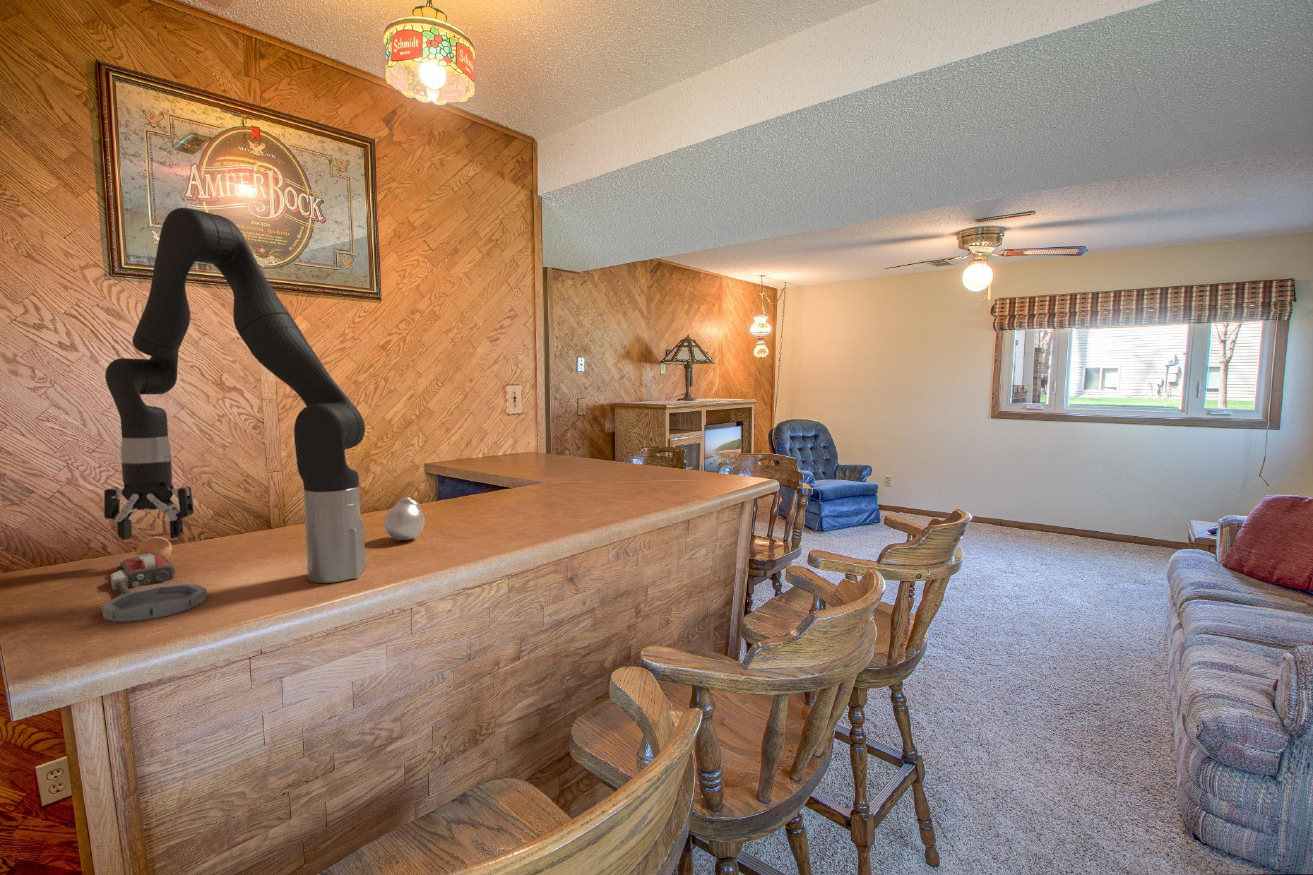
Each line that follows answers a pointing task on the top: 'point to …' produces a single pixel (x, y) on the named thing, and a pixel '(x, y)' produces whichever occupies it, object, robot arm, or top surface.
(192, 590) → the dish
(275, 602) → the top surface
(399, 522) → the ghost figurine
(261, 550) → the top surface
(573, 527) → the top surface
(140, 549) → the ball
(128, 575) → the walkie-talkie
